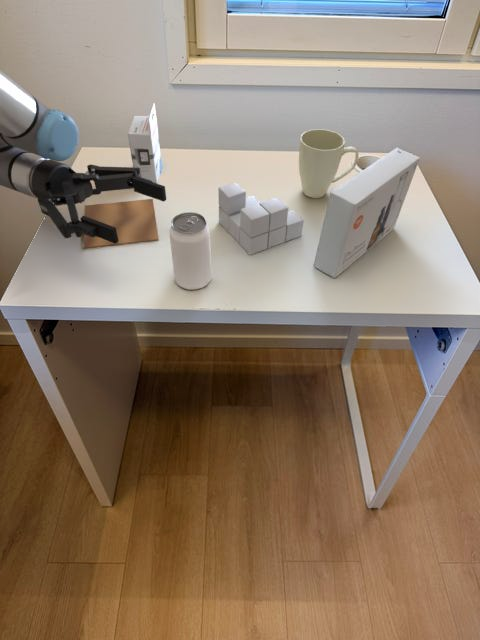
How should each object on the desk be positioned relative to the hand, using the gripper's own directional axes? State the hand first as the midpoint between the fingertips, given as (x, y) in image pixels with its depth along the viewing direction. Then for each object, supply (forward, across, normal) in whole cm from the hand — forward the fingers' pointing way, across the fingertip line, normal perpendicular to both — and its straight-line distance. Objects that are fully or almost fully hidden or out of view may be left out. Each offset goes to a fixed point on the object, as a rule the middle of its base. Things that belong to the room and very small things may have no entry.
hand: (141, 213), depth 78 cm
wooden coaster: (-12, -7, -10) cm, 17 cm away
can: (+10, 0, -10) cm, 14 cm away
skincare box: (+32, -23, -11) cm, 41 cm away
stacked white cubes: (+13, -19, -11) cm, 25 cm away
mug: (+18, -37, -11) cm, 43 cm away
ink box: (-17, -24, -11) cm, 32 cm away
